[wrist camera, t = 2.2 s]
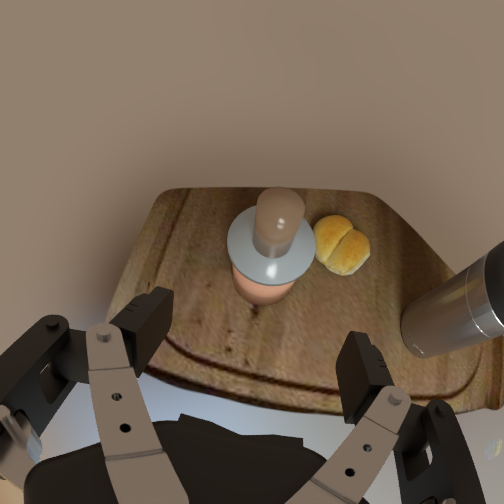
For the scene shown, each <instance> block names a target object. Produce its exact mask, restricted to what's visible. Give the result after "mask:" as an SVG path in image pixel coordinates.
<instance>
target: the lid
mask: <svg viewBox="0 0 504 504" xmlns="http://www.w3.org/2000/svg"><path fill="white" fill-rule="evenodd" d="M304 212H305V206H304V202H303V200H302V199H301V197H300V196H299V195H298V194H297V193H296V192H294V191H292V190H290V189H288V188H284V187H272V188H269V189H267V190H265V191H263V192H262V193H261V194H260V196H259V197H258V200H257V205H256V206H253V207H250V208H248V209H246V210H245V211H243V212H242V213H240V214H239V215H238V216H237V217H236V218H235V220H234V221H233V222H232V224H231V226H230V229H229V232H228V237H227V247H228V254H229V257H230V260H231V262H232V264H233V265H234V267H235V268H236V269H237V271H238V272H239V273H240V274H242V275H243V276H244V277H245V278H247V279H249V280H250V281H252V282H255V283H257V284H261V285H265V286H281V285H285V284H288V283H291V282H293V281H295V280H297V279H298V278H299V277H301V276H302V275H303V274H304V273H305V272H306V270H307V269H308V267H309V266H310V264H311V262H312V260H313V258H314V255H315V250H316V242H315V237H314V233H313V231H312V229H311V227H310V225H309V224H308V222H307V221H306V220H305V219H304V218H303V215H304Z"/></svg>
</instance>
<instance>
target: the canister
mask: <svg viewBox="0 0 504 504" xmlns="http://www.w3.org/2000/svg"><path fill="white" fill-rule="evenodd" d="M232 271H233V283H234V286H235V289H236V290H237V292H238V293H239V295H240V296H241V297H242V298H244V299H245V300H246V301H248V302H250V303H252V304H255V305H261V306H266V305H272V304H275V303H277V302H279V301H281V300H282V299H283V298H284V297H285V296H286V295H287V294H288V293H289V291H290V289H291V287H292V286H293V284H294V282H295V281H293V282H291V283H288V284H285V285H281V286H265V285H261V284H257V283H255V282H252V281H250V280H249V279H247V278H245V277H244V276H243V275H242V274H240V273H239V272H238V271H237V269H236V268H235V267H234V265H233V264H232Z"/></svg>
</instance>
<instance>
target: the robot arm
mask: <svg viewBox="0 0 504 504" xmlns="http://www.w3.org/2000/svg"><path fill="white" fill-rule="evenodd" d="M173 298H174V292H173V290H170V289H166V288H162V287H159V286H157V287H156V288H155V289H154V290H153V291H152V292H151V293H150V294H149V295H148V294H145V293H144V294H141V295H139V296H137V297H135V298H134V299H133V300H132V301H130V302H129V304H127V305H126V306H125V307H124V309H122V310H121V311H120V312H119V313H118V314H117V315H116V316H115V317H114V318H113V319H112V320H111V321H110V322H109V323H99V324H95V325H93V326H91V327H90V328H89V329H88V330H87V331H80V330H74V329H69V323H68V321H67V319H66V318H64V317H63V316H60V315H48V316H45V317H43V318H41V319H40V320H39V321H38V322H36V323H35V324H34V325H33V326H32V327H31V328H30V329H28V330H27V331H26V332H25V333H24V334H23V335H22V336H21V337H20V338H19V339H17V340H16V341H15V342H14V343H13V344H12V345H11V346H10V347H9V348H8V349H7V350H6V351H5V352H4V353H3V354H2V355H1V356H0V479H3V480H7V481H8V482H10V483H11V484H12V485H14V486H15V487H16V488H18V489H19V490H20V491H22V492H23V493H24V504H369V502H368V501H366V500H365V499H364V498H363V496H364V494H365V493H366V491H367V490H368V488H369V487H370V486H371V484H372V482H373V481H374V479H375V478H376V476H377V474H378V473H379V471H380V470H381V468H382V466H383V465H384V463H385V461H386V460H387V458H388V456H389V454H390V452H391V451H392V450H393V451H394V456H395V462H396V468H397V474H398V480H399V487H400V494H401V502H402V504H486V502H485V499H484V495H483V491H482V488H481V484H480V481H479V478H478V475H477V471H476V469H475V466H474V463H473V460H472V457H471V454H470V451H469V448H468V446H467V443H466V441H465V438H464V435H463V433H462V430H461V428H460V425H459V423H458V421H457V418H456V416H455V414H454V411H453V409H452V408H451V406H450V405H449V404H448V403H446V402H445V401H443V400H440V399H433V400H431V401H430V402H429V403H428V404H427V406H426V407H423V406H420V405H416V404H413V403H411V399H410V397H409V395H408V394H407V393H406V392H405V391H404V390H402V389H401V388H399V387H396V386H395V385H394V383H393V380H392V378H391V375H390V373H389V370H388V368H387V365H386V363H385V362H384V358H383V356H382V353H381V352H380V351H379V350H378V349H377V348H376V346H375V345H371V342H370V340H369V337H368V335H367V334H366V333H361V332H355V331H350V332H349V334H348V336H347V338H346V340H345V342H344V345H343V347H342V349H341V351H340V353H339V356H338V358H337V361H336V375H337V380H338V386H339V391H340V397H341V403H342V409H343V415H344V421H345V423H346V424H355V428H354V429H353V430H352V432H351V433H350V434H349V436H348V437H347V438H346V439H345V440H344V442H343V443H342V444H341V445H340V447H339V448H338V449H337V450H336V451H335V453H334V454H333V455H332V456H331V457H330V458H329V459H328V460H326V459H325V458H324V457H323V456H321V455H320V454H318V453H316V452H314V451H312V450H310V449H308V448H305V447H303V438H296V437H288V436H281V435H240V434H237V433H235V432H232V431H230V430H228V429H226V428H223V427H221V426H219V425H217V424H215V423H213V422H210V421H207V420H203V419H199V418H195V417H192V416H189V415H185V414H182V413H181V414H180V417H179V419H178V421H168V420H167V421H156V422H151V419H150V417H149V414H148V411H147V408H146V406H145V403H144V400H143V397H142V394H141V391H140V388H139V385H138V382H137V379H136V377H137V378H139V377H140V375H141V374H142V372H143V370H144V369H145V367H146V366H147V364H148V363H149V361H150V360H151V358H152V356H153V355H154V353H155V352H156V350H157V349H158V347H159V346H160V344H161V343H162V341H163V339H164V338H165V336H166V335H167V333H168V332H169V329H170V327H171V322H172V312H173ZM401 332H402V337H403V340H404V343H405V344H406V346H407V348H408V349H409V350H410V352H412V353H413V354H414V355H416V356H418V357H421V358H428V357H433V356H437V355H441V354H445V353H449V352H452V351H456V350H459V349H462V348H466V347H469V346H472V345H475V344H478V343H481V342H484V341H487V340H490V339H493V338H496V337H498V336H501V335H504V241H503V242H501V243H500V244H498V245H497V246H496V247H494V248H493V249H492V250H490V251H489V252H488V253H486V254H485V255H484V256H482V257H481V258H479V259H478V260H477V261H476V262H474V263H473V264H471V265H470V266H468V267H467V268H465V269H464V270H463V271H461V272H459V273H458V274H456V275H455V276H453V277H452V278H450V279H449V280H447V281H446V282H444V283H442V284H441V285H439V286H438V287H436V288H434V289H433V290H431V291H430V292H428V293H426V294H424V295H423V296H421V297H419V298H418V299H416V300H414V301H413V302H411V303H410V304H409V305H408V306H407V308H406V309H405V311H404V313H403V316H402V321H401ZM47 364H48V366H47V367H46V368H45V366H46V365H47ZM44 368H45V369H44ZM43 369H44V370H43ZM42 370H43V371H42ZM41 371H42V372H41ZM40 373H41V374H40ZM77 382H80V383H86V384H90V389H91V396H92V402H93V408H94V413H95V418H96V423H97V428H98V432H99V436H100V440H101V442H99V443H96V444H93V445H91V446H87V447H85V448H82V449H79V450H76V451H72V452H69V453H66V454H63V455H59V456H56V457H52V458H49V459H46V460H43V461H41V462H39V460H40V455H41V452H42V443H41V440H40V438H39V437H40V436H41V434H42V433H43V431H44V430H45V428H46V427H47V425H48V424H49V422H50V421H51V419H52V418H53V416H54V415H55V413H56V412H57V410H58V409H59V407H60V406H61V404H62V403H63V402H64V400H65V399H66V397H67V396H68V394H69V393H70V392H71V390H72V389H73V387H74V386H75V385H76V383H77ZM429 445H430V448H431V452H432V456H433V458H432V462H431V464H430V465H429V460H428V457H427V453H426V448H427V447H428V446H429Z"/></svg>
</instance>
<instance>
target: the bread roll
mask: <svg viewBox="0 0 504 504" xmlns="http://www.w3.org/2000/svg"><path fill="white" fill-rule="evenodd" d="M313 233H314V237H315V242H316V250H315V257H316V258H317V260H318V261H319V262H321V263H322V264H324V265H325V267H326V268H327V269H328V270H330V271H331V272H333V273H335V274H339V275H351V274H353V273H354V272H355V271H356V270H357V269H359V267H360V266H361V265H362V264H363V263H364V261H365V260H366V259H367V258H368V257H369V256H370V244H369V241H368V239H367V237H366V235H365V234H364V233H362V232H360V231H357V230H355V229H353V226H352V224H351V222H350V221H349V220H348V219H347V218H345V217H343V216H340V215H331V216H327V217H324V218H322V219H321V220H319V221H318V222H317V223H316V224H315V226H314V228H313Z"/></svg>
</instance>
